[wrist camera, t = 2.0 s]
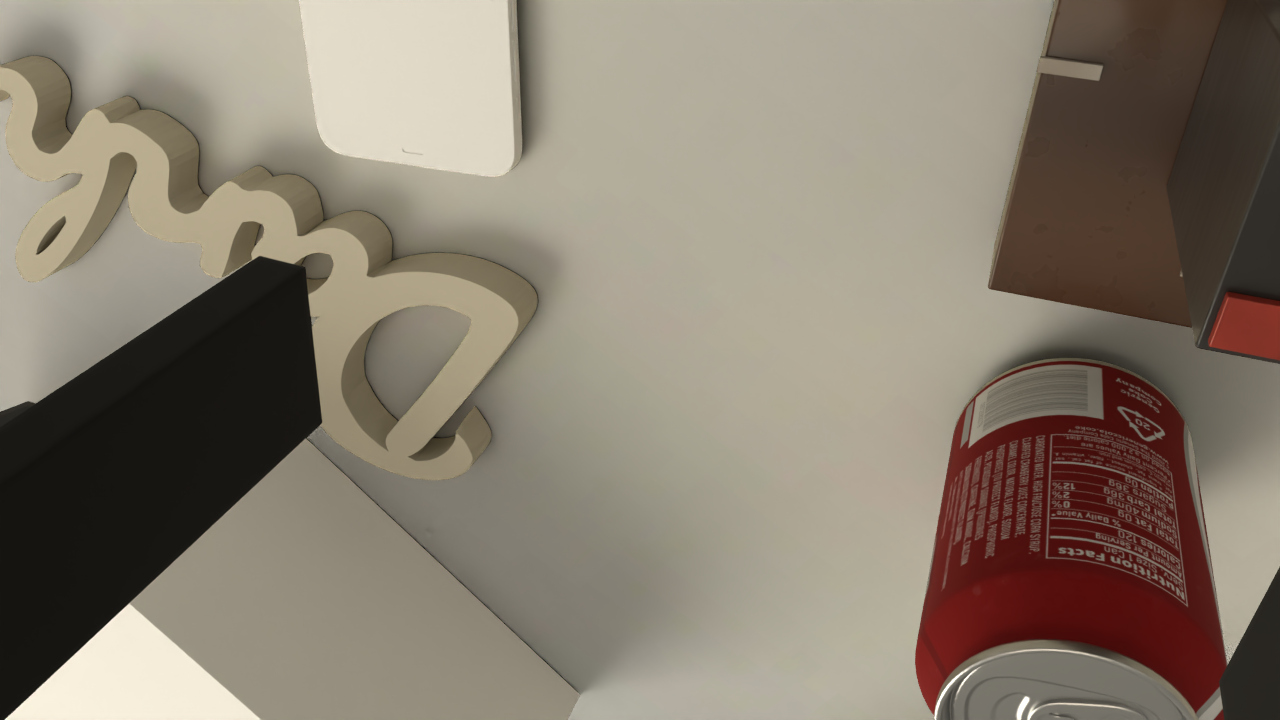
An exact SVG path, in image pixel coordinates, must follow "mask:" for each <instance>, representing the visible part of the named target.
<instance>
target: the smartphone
mask: <svg viewBox="0 0 1280 720" xmlns="http://www.w3.org/2000/svg"><path fill="white" fill-rule="evenodd" d="M299 6H300V13H301V20H302V27H303V34H304V41H305V49H306V56H307V63H308V70H309V77H310V84H311V91H312V98H313V105H314V112H315V119H316V124H317V128H318V132H319V135H320V137H321V139H322V140H323V142H324V143H325V145H326V146H327V147H328V148H330V149H331V150H332V151H334V152H336V153H338V154H341V155H345V156H350V157H357V158H364V159H371V160H377V161H384V162H391V163H398V164H404V165H411V166H418V167H425V168H432V169H438V170H445V171H452V172H459V173H465V174H472V175H479V176H487V177H498V176H502V175H504V174H506V173H507V172H509V171H510V170H511V169H512V168H514V167H515V166H516V165H517V164H518V162H519V160H520V158H521V154H522V122H521V98H520V75H519V51H518V27H517V3H516V0H299Z"/></svg>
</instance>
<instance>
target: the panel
mask: <svg viewBox="0 0 1280 720" xmlns="http://www.w3.org/2000/svg"><path fill="white" fill-rule="evenodd" d="M1227 1H1228V0H1054V4H1053V8H1052V12H1051V17H1050V21H1049V25H1048V29H1047V33H1046V37H1045V41H1044V45H1043V49H1042V53H1041V56H1040V59H1039V64H1038V68H1037V74H1036V78H1035V82H1034V86H1033V90H1032V94H1031V98H1030V103H1029V107H1028V111H1027V115H1026V119H1025V123H1024V127H1023V131H1022V135H1021V139H1020V143H1019V148H1018V152H1017V156H1016V160H1015V164H1014V168H1013V172H1012V176H1011V180H1010V184H1009V188H1008V193H1007V197H1006V201H1005V205H1004V209H1003V213H1002V217H1001V221H1000V225H999V229H998V233H997V238H996V242H995V247H994V253H993V259H992V265H991V272H990V278H989V284H988V288H989V289H992V290H997V291H1003V292H1008V293H1013V294H1018V295H1024V296H1029V297H1034V298H1039V299H1045V300H1050V301H1055V302H1060V303H1066V304H1071V305H1076V306H1081V307H1087V308H1092V309H1097V310H1102V311H1107V312H1113V313H1118V314H1123V315H1128V316H1134V317H1139V318H1144V319H1149V320H1155V321H1160V322H1165V323H1170V324H1176V325H1181V326H1186V327H1191V328H1192V324H1191V319H1190V313H1189V308H1188V302H1187V297H1186V291H1185V286H1184V280H1183V275H1182V269H1181V264H1180V259H1179V253H1178V248H1177V242H1176V237H1175V231H1174V226H1173V220H1172V215H1171V209H1170V204H1169V198H1168V193H1167V184H1168V181H1169V178H1170V175H1171V172H1172V169H1173V166H1174V163H1175V160H1176V157H1177V154H1178V151H1179V148H1180V145H1181V142H1182V139H1183V136H1184V133H1185V130H1186V126H1187V123H1188V120H1189V117H1190V114H1191V111H1192V108H1193V105H1194V102H1195V99H1196V96H1197V93H1198V90H1199V87H1200V84H1201V81H1202V78H1203V75H1204V71H1205V68H1206V65H1207V62H1208V59H1209V56H1210V53H1211V50H1212V47H1213V44H1214V41H1215V38H1216V35H1217V32H1218V29H1219V26H1220V23H1221V20H1222V17H1223V13H1224V10H1225V7H1226V4H1227Z"/></svg>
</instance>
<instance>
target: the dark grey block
mask: <svg viewBox="0 0 1280 720" xmlns="http://www.w3.org/2000/svg"><path fill="white" fill-rule="evenodd" d="M1167 193H1168V198H1169V204H1170V209H1171V215H1172V220H1173V226H1174V231H1175V237H1176V242H1177V248H1178V253H1179V259H1180V264H1181V269H1182V275H1183V280H1184V286H1185V291H1186V297H1187V302H1188V308H1189V313H1190V319H1191V324H1192V330H1193V335H1194V340H1195V346H1196V347H1197V348H1201V349H1206V350H1211V351H1216V352H1221V353H1226V354H1231V355H1237V356H1242V357H1247V358H1252V359H1257V360H1262V361H1267V362H1272V363H1278V364H1280V0H1228V1H1227V4H1226V7H1225V10H1224V13H1223V17H1222V20H1221V23H1220V26H1219V29H1218V32H1217V35H1216V38H1215V41H1214V44H1213V47H1212V50H1211V53H1210V56H1209V59H1208V62H1207V65H1206V68H1205V71H1204V75H1203V78H1202V81H1201V84H1200V87H1199V90H1198V93H1197V96H1196V99H1195V102H1194V105H1193V108H1192V111H1191V114H1190V117H1189V120H1188V123H1187V126H1186V130H1185V133H1184V136H1183V139H1182V142H1181V145H1180V148H1179V151H1178V154H1177V157H1176V160H1175V163H1174V166H1173V169H1172V172H1171V175H1170V178H1169V181H1168V184H1167Z"/></svg>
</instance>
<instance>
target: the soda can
mask: <svg viewBox="0 0 1280 720" xmlns="http://www.w3.org/2000/svg"><path fill="white" fill-rule="evenodd" d="M915 665H916V674H917V679H918V683H919V686H920V689H921V692H922V695H923V697H924V699H925V701H926V703H927V705H928V707H929V709H930V710H931V712H932V713H933V715H934V720H1224V714H1223V707H1222V699H1221V692H1220V685H1219V681H1220V679H1221V677H1222V675H1223V673H1224V671H1225V669H1226V667H1227V666H1228V665H1227V659H1226V652H1225V646H1224V640H1223V633H1222V627H1221V620H1220V614H1219V608H1218V601H1217V595H1216V588H1215V582H1214V576H1213V569H1212V563H1211V556H1210V550H1209V544H1208V537H1207V531H1206V525H1205V518H1204V512H1203V505H1202V499H1201V493H1200V486H1199V480H1198V473H1197V467H1196V461H1195V454H1194V448H1193V443H1192V438H1191V434H1190V431H1189V429H1188V426H1187V424H1186V422H1185V420H1184V418H1183V416H1182V415H1181V413H1180V411H1179V410H1178V408H1177V407H1176V406H1175V405H1174V404H1173V402H1172V401H1171V400H1170V399H1169V398H1168V397H1167V396H1166V395H1165V394H1164V393H1163V392H1162V391H1161V390H1160V389H1158V388H1157V387H1156V386H1155V385H1153V384H1152V383H1151V382H1149V381H1147V380H1146V379H1144V378H1143V377H1141V376H1139V375H1137V374H1135V373H1133V372H1131V371H1129V370H1127V369H1124V368H1122V367H1119V366H1116V365H1113V364H1110V363H1106V362H1101V361H1097V360H1090V359H1082V358H1054V359H1045V360H1040V361H1035V362H1031V363H1027V364H1024V365H1021V366H1018V367H1015V368H1013V369H1010V370H1008V371H1006V372H1004V373H1002V374H1000V375H999V376H997V377H995V378H994V379H992V380H991V381H989V382H988V383H987V384H985V385H984V386H983V387H982V388H981V389H980V390H978V391H977V392H976V394H975V395H974V396H973V397H972V398H971V399H970V400H969V402H968V403H967V404H966V406H965V407H964V409H963V411H962V413H961V414H960V416H959V419H958V421H957V424H956V427H955V430H954V435H953V441H952V446H951V452H950V458H949V463H948V469H947V475H946V480H945V486H944V492H943V498H942V503H941V509H940V515H939V520H938V526H937V532H936V537H935V543H934V549H933V555H932V560H931V566H930V572H929V577H928V583H927V589H926V594H925V600H924V606H923V611H922V617H921V623H920V629H919V634H918V640H917V646H916V656H915Z"/></svg>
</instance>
